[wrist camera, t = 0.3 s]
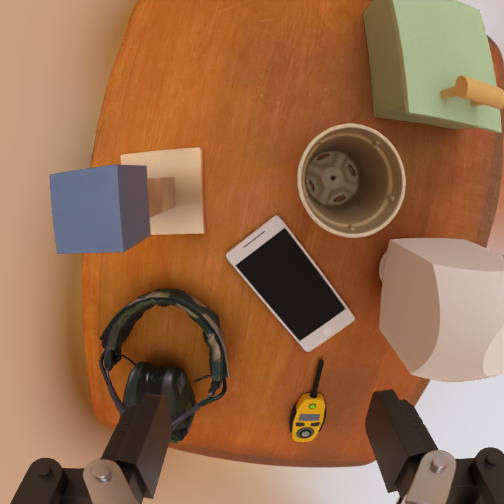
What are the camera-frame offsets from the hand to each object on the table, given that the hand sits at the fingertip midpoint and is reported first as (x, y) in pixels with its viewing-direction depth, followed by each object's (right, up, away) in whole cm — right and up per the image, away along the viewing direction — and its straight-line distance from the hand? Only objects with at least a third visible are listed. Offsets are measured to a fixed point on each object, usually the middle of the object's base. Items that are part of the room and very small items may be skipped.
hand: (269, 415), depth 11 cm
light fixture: (+17, +4, +24) cm, 30 cm away
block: (-10, +10, +10) cm, 18 cm away
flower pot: (+8, +14, +22) cm, 27 cm away
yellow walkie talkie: (+7, -14, +29) cm, 33 cm away
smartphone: (+4, +2, +25) cm, 25 cm away
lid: (+18, +25, +10) cm, 33 cm away
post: (-10, +13, +22) cm, 28 cm away
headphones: (-11, -7, +27) cm, 30 cm away
